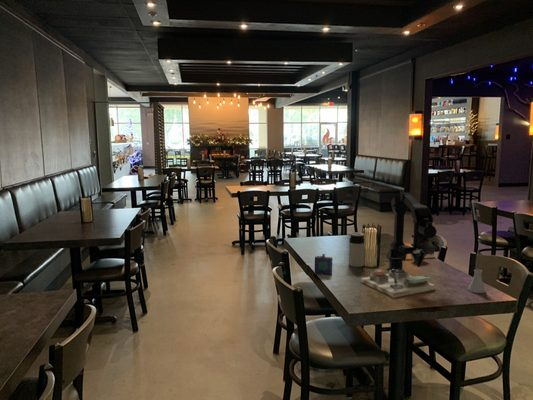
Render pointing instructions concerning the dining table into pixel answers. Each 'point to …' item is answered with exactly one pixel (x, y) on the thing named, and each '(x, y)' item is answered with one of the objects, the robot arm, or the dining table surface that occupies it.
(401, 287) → the control panel
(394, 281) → the toggle lever
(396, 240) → the robot arm
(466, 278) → the dining table surface
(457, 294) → the dining table surface
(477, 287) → the flask
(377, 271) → the terracotta button
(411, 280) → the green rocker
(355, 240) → the travel mug
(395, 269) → the black button
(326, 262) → the flask
